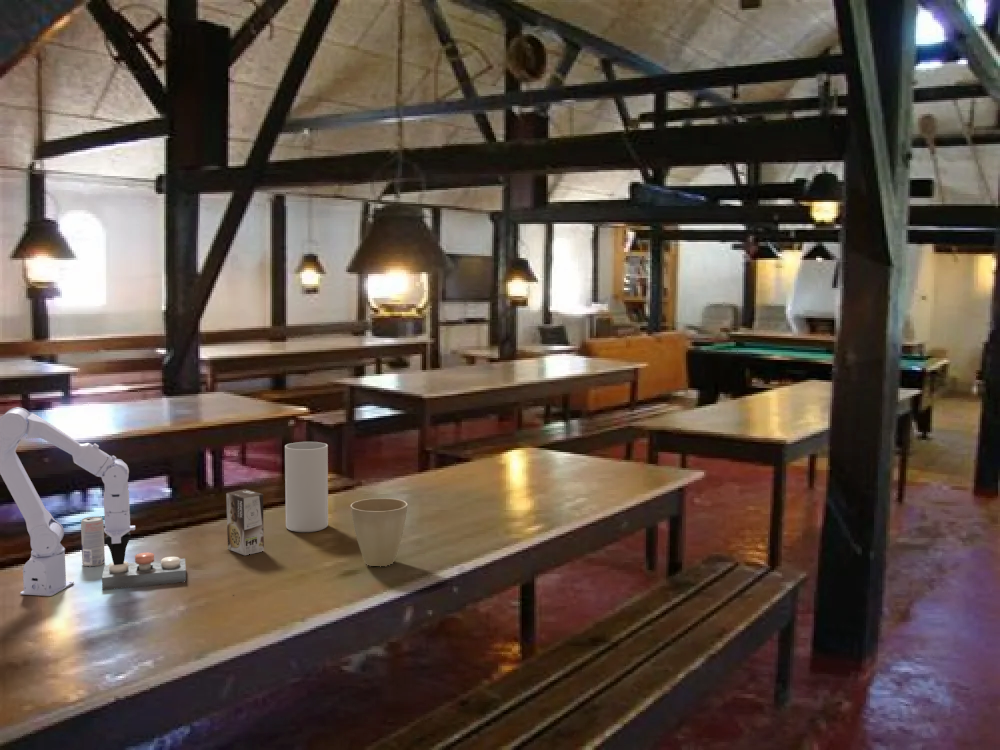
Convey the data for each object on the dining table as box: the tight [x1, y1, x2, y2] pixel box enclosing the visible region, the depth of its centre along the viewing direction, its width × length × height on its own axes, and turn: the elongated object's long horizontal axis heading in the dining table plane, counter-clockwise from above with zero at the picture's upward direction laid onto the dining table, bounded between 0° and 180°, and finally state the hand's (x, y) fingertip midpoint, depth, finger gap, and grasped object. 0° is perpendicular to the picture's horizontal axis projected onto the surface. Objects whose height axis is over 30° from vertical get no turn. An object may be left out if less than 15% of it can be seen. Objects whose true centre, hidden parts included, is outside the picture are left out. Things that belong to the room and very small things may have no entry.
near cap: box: [108, 560, 129, 573], centre depth 226 cm, size 4×4×4 cm
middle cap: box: [134, 552, 155, 570], centre depth 228 cm, size 4×4×4 cm
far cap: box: [160, 556, 181, 568], centre depth 230 cm, size 4×4×4 cm
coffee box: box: [225, 488, 265, 556], centre depth 252 cm, size 9×6×16 cm
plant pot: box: [350, 497, 408, 568], centre depth 243 cm, size 15×15×16 cm
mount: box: [101, 558, 187, 591], centre depth 228 cm, size 19×10×3 cm, turn 110°
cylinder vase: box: [284, 441, 329, 533], centre depth 276 cm, size 12×12×25 cm
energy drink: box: [80, 516, 106, 568], centre depth 239 cm, size 5×5×12 cm
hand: (118, 564), depth 226 cm, fingers closed, pressing on near cap
